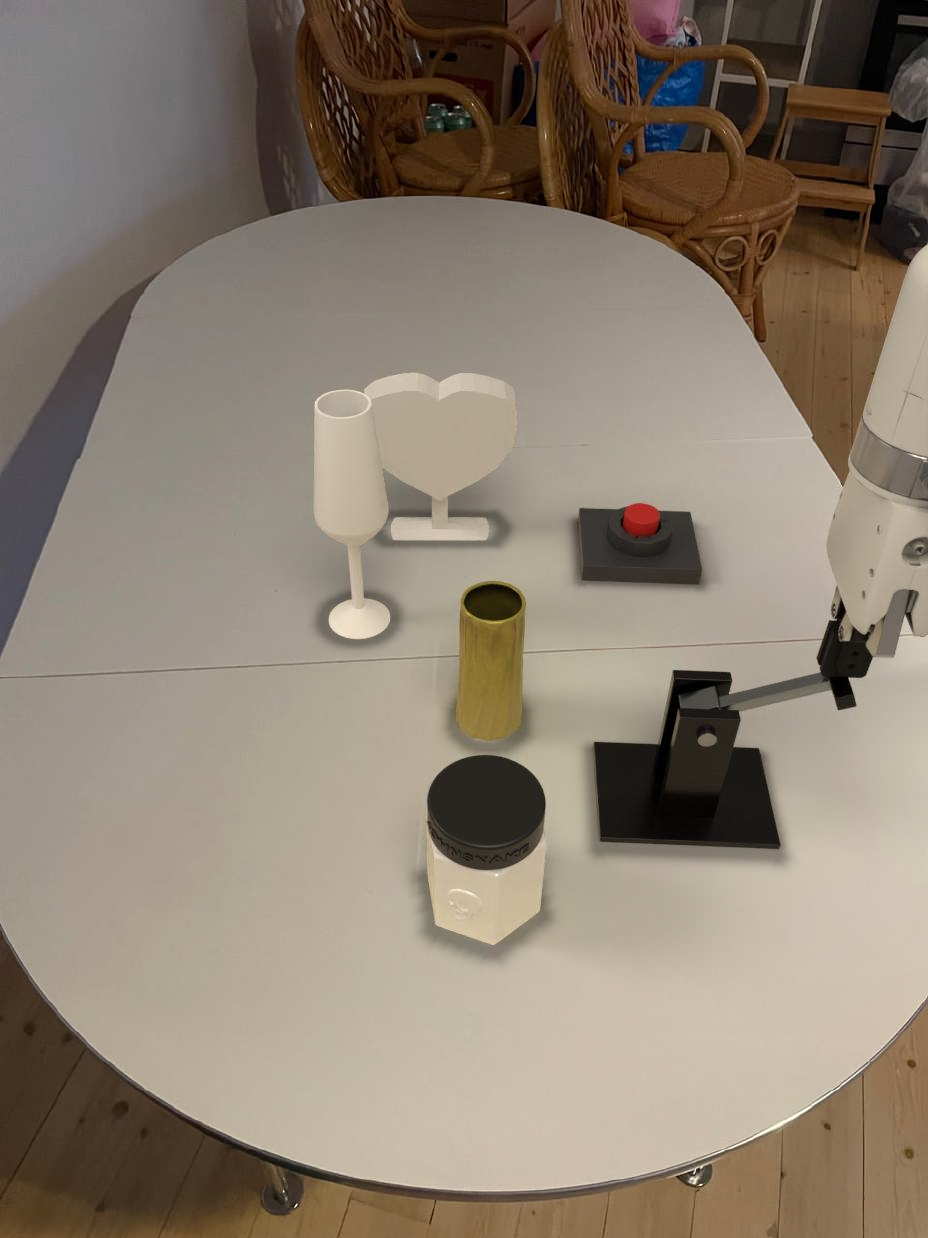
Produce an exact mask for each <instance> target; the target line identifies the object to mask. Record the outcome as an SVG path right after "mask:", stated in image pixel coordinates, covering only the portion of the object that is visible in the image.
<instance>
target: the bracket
mask: <svg viewBox="0 0 928 1238" xmlns="http://www.w3.org/2000/svg"><path fill="white" fill-rule="evenodd" d="M732 684H733V677H732V673H731V671H719V670H718V671H716V670H715V671H714V670H689V669H687V670H686V669H673V670H672V673H671V676H670V683H669V687H668V692H667V698H666V702H665V708H664V712H663V717H662V722H661V726H660V731H659V735H658V742H657V743H640V742H639V743H638V742H615V741H614V742H613V741H594V742H593V745H592V746H593V760H594V762H593V763H594V775H595V776H594V777H595V778H594V779H595V790H596V791H595V792H596V793H595V794H596V806H597V807H596V808H597V822H598V838H599V842H600V843H618V844H621V843H623V844H642V845H644V844H645V845H666V846H667V845H668V846H670V845H672V846H692V847H693V846H694V847H717V848H719V847H720V848H739V849H740V848H741V849H765V850H780V848H781V845H782V844H781V840H780V836H779V831H778V826H777V823H776V822H777V821H776V817H775V813H774V809H773V804H772V800H771V795H770V791H769V786H768V781H767V778H766V777H767V776H766V773H765V768H764V764H763V759H762V755H761V750H760V748H759V747H743V746H742V747H741V746H735V742H736V739H737V735H738V732H739V729H740V725H741V721H742V719H741V715H740V712H739V710H719V709H693V708H680V702H679V694H683V693H687V692H691V691H696V690H700V689H704V688H708V687H712V686H715V688H716V691H717V693H718V696H719V697H720V696H724V695H728V694H730V692H731V688H732Z"/></svg>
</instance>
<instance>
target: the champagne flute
mask: <svg viewBox="0 0 928 1238" xmlns="http://www.w3.org/2000/svg"><path fill="white" fill-rule="evenodd" d="M313 412H314V415H313V416H314V417H313V419H314V420H313V421H314V423H313V424H314V425H313V427H314V429H313V430H314V431H313V518H314V521H315V523H316V525H317V527H318V528H319V529H320V530H321V531H322V532H323V533H324V534H325V535H326V536H327V537H329V539H332V540H334V541H335V542H339V543H341V544H342V545H345V546H347V555H348V568H349V580H350V581H349V582H350V593H351V599H347V600H344V601H343V602H340V603H339V604H337V605H336V606H335V607H334V608H333V609H332V610H331V611H330V613H329V615H328V624H329V627H330V628H331V630H332V631H333V632H334V633H335V634H337V635H338V636H340V637H343V638H346V639H352V640H365V639H369V638H372V637H375V636H377V635H379V634H381V633H382V632H384V631H385V630H386V629H387V628H388V627H389V624H390V622H391V613H390V610H389V609H388V608H387V606H386V605H385V604H383V603H382V602H380V601H378V600H375V599H372V598H367V597H366V598H365V591H364V577H363V565H362V551H361V550H362V549H361V545H362V544H364V543H366V542H368V541H369V540H371V539H372V538H374V537H375V536H376V535H377V534H378V533H379V532H380V531H381V530H382V529H383V527H384V525H385V523H386V522H387V520H388V517H389V511H390V509H389V508H390V507H389V501H388V496H387V490H386V484H385V477H384V471H383V470H384V469H383V468H382V464H381V458H380V452H379V446H378V439H377V433H376V427H375V421H374V414H373V408H372V402H371V399H370V398H369V397H368V396H367V395H366V394H364V392H361V391H358V390H354V389H336V390H332V391H328V392H325V393H323V394H321V395H320V396H318V397H317V398H316V399H315V402H314V411H313Z"/></svg>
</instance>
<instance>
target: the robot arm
mask: <svg viewBox="0 0 928 1238" xmlns="http://www.w3.org/2000/svg"><path fill="white" fill-rule="evenodd" d="M861 414H862V415H861V417H860V420H859V423H858V427H857V429H856V433H855V436H854V440H853V443H852V445H851V449H850V452H849V455H848V458H847V466H848V469H849V472H848V474H847V476H846V478H845V482H844V484H843V487H842V489H841V492H840V495H839V497H838V500H837V503H836V506H835V509H834V512H833V515H832V517H831V522H830V526H829V529H828V534H827V538H826V554H827V559H828V562H829V565H830V569H831V572H832V574H833V578H834V581H835V583H836V586H835V590H834V593H833V598H832V602H831V605H830V616H831V618H832V619H833V620H832V619H829V620H828V622H827V625H826V629H825V631H824V634H823V637H822V640H821V643H820V646H819V649H818V652H817V654H816V661H817V665H818V666H819V672H821V675H822V676H824V677H845V678H849V679H862V678H865V677H866V676H867V675H868V672H869V669H870V666H871V664H872V661H873V659H874V658H875V659H876V658H877V659H894V657H895V655H896V652H897V648H898V643H899V639H900V635H901V632H902V628H903V623H904V619H905V618H906V621H907V623H908V625H909V628H910V630H911V633H912V636H913V637H920V638H925V637H927V636H928V243H927V244H926V245H925V246H923V247H922V248H921V249H920V250H918V251H917V253H916V254H915V255H914V256H913V258H912V259H911V262H910V263H909V265H908V267H907V269H906V272H905V275H904V277H903V280H902V284H901V287H900V290H899V294H898V297H897V300H896V303H895V307H894V310H893V313H892V316H891V319H890V323H889V327H888V329H887V333H886V335H885V339H884V343H883V346H882V349H881V352H880V355H879V359H878V362H877V366H876V369H875V371H874V375H873V378H872V382H871V384H870V388H869V391H868V394H867V398H866V401H865V404H864V408H863V411H862V413H861Z"/></svg>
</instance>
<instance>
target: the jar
mask: <svg viewBox="0 0 928 1238" xmlns="http://www.w3.org/2000/svg"><path fill="white" fill-rule="evenodd" d="M546 808H547V800H546V795H545V791H544V788H543V785H542V784H541V783H540V781H539V779H538V778H537V776H536V775H535V774H534V773H533V772H531V771H530V769H528V768H527V767H525V766H524V765H523V764H521V763H519V762H517V761H516V760H513V759H511V758H508V757H504V756H500V755H495V754H477V755H470V756H466V757H463V758H460V759H457V760H454V761H453V762H451V763H450V764H448V765H447V766H445V767H444V768H442V770H440V771H439V772H438V773H437V775H436V776H435V777H434V779H433V780H432V782H431V784H430V786H429V788H428V792H427V798H426V804H425V826H426V827H425V828H426V829H425V831H426V868H427V869H426V870H427V881H428V887H429V893H430V900H431V906H432V913H433V920H434V924H435V925H436V927H440V928H442V929H445V930H448V931H451V932H453V933H457V934H460V935H463V936H465V937H467V938H471V939H474V940H477V941H480V942H483V943H486V944H488V945H491V946H494V945H497V944H498V943H500V941H502V940H503V939H505V938H506V937H508V936H509V935H510V934H511V933H513V932H514V931H515V930H517V929H518V928H520V927H522V925H524V924H525V923H527V921H530V919H532V918H533V917H534V916H536V915H537V914H539V913H540V912H541V907H542V906H541V905H542V894H543V886H544V876H545V866H546V858H547V857H546V856H547V847H548V840H547V836H546V833H545V832H546V831H545V828H544V827H545V817H546Z"/></svg>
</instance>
